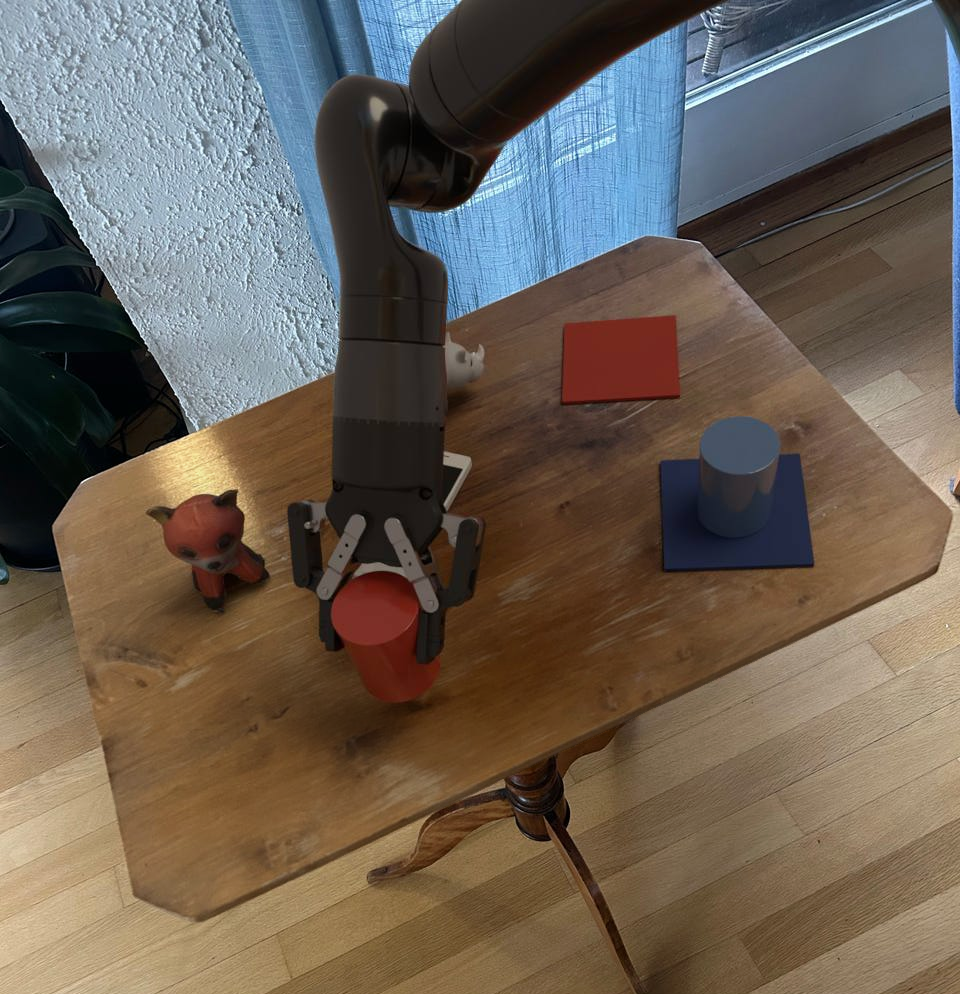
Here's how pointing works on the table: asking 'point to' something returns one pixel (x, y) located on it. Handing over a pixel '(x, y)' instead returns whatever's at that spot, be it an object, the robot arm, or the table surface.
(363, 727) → the table surface
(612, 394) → the red mat
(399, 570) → the smartphone
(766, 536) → the blue mat
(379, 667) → the red cylinder
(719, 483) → the grey-blue cylinder
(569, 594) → the table surface
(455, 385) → the toy rhinoceros
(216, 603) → the stuffed fox
